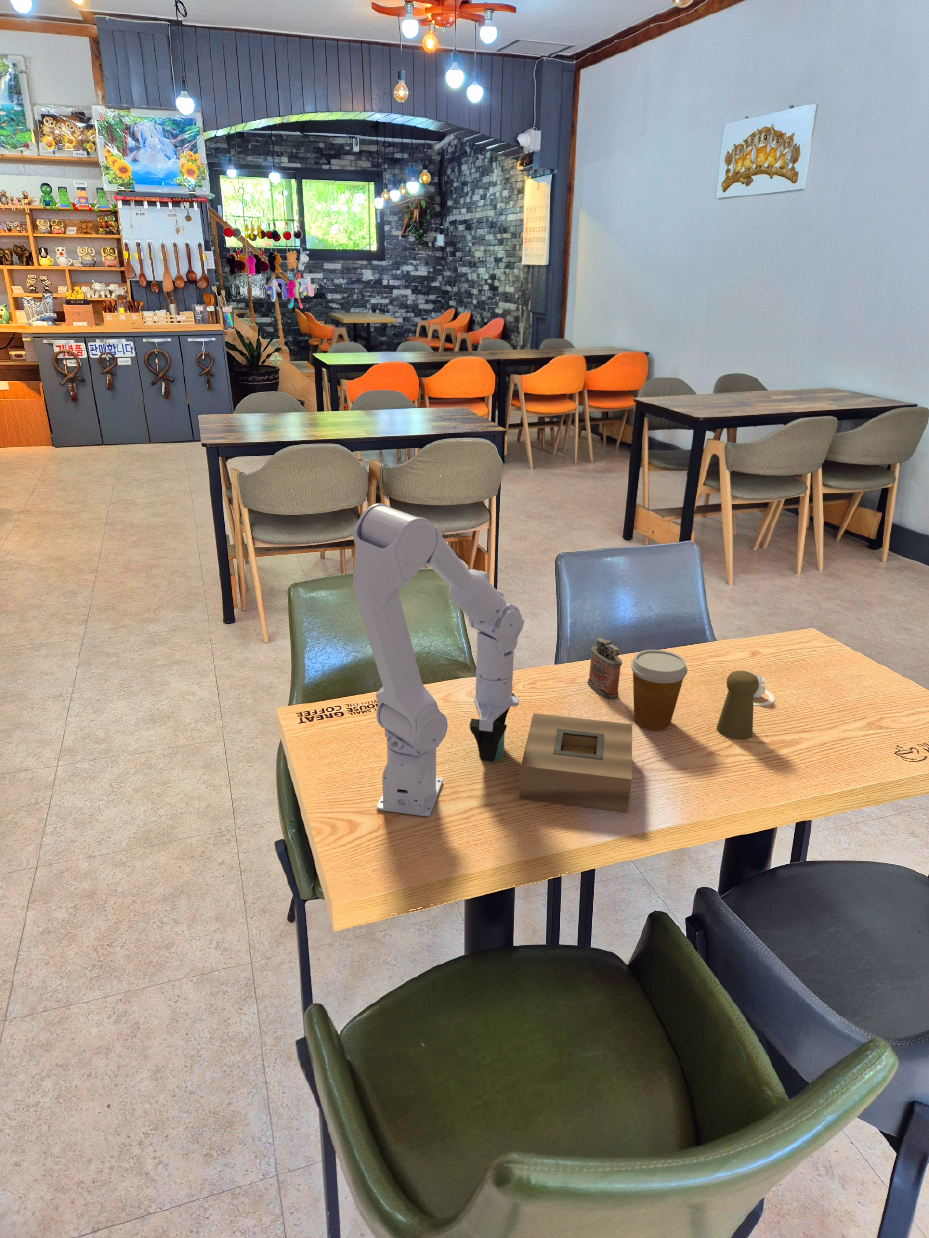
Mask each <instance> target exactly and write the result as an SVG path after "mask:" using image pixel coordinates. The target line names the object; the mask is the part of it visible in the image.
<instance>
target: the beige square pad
mask: <svg viewBox="0 0 929 1238" xmlns="http://www.w3.org/2000/svg"><path fill="white" fill-rule="evenodd" d="M594 750H595V749H592V748H583V747H575V746H566V745H564V748H563V751H569V752H577V753H585V754H594Z"/></svg>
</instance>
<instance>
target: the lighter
mask: <svg viewBox="0 0 929 1238" xmlns="http://www.w3.org/2000/svg"><path fill="white" fill-rule="evenodd" d="M589 652H590V664H589V674H588V675H589V676H588V678H587V685H588V687H590V689H591V690H592V691H594V692H595V693H596V694H597V695H598V696H600V697H602V698H604V699H606V700H610V701H615V700H617V699H619V694H620V693H619V686H620V675H621V666H622V664H623V660H622V658H620V657H619V655H620V649H619V648H618V647H617V646H615V645H614V644H613V643H612V641H611V640H609V639H607V640H606V639H604V638H603V637H602V638H601V637H598V638H597V639H596V645H594V646H593V645H592V646H591V647H590V651H589Z"/></svg>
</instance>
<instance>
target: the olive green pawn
mask: <svg viewBox="0 0 929 1238" xmlns="http://www.w3.org/2000/svg"><path fill="white" fill-rule="evenodd" d="M755 675H756V674H754V673H753V672H750V671H747V670H734V671H732V672H731V673H729V674H728V676H727V679H726V688H727V694H726V697H725V700H724V703H723V706H722V710H721V713H720V715H719V719H718V720H717V721H718V722H717V725H716V731H717V733H719V734H720V735H721V736H723V737H724V738H728V739H730V740H736V741H743V740H748V739H751V738H752V737H753V734H754V705H753V703H755V702H754V700H755V698H754V694H755V693H756V692H757V690H758V688H759V681H758V678H757V677H756V676H755Z"/></svg>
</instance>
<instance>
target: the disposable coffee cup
mask: <svg viewBox="0 0 929 1238" xmlns="http://www.w3.org/2000/svg"><path fill="white" fill-rule="evenodd" d="M686 665H687V664H686V660H685V659H684V658H683V657H682V656H680V655H678V654H676V653H674V652H672V651H667V650H664V649H663V650H661V649H660V650H659V649H645V650H641V651H639V652H637V653H636V654H635V655H634V657H633V659H632V660H631V663H630V668H631V671H632V688H633V689H632V691H633V720H634V723H635V724H636V725H637V726H639V727H641V728H642V729H646V730H649V731H663V730H667V729H668V728H669V727H670V726H671V723H672V719H673V716H674V712H675V709H676V706H677V703H678V699H679V695H680V692H681V688H682V684H683V682H684V679H685V677H686V675H688V670H689V669H688V668H687V666H686Z"/></svg>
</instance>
